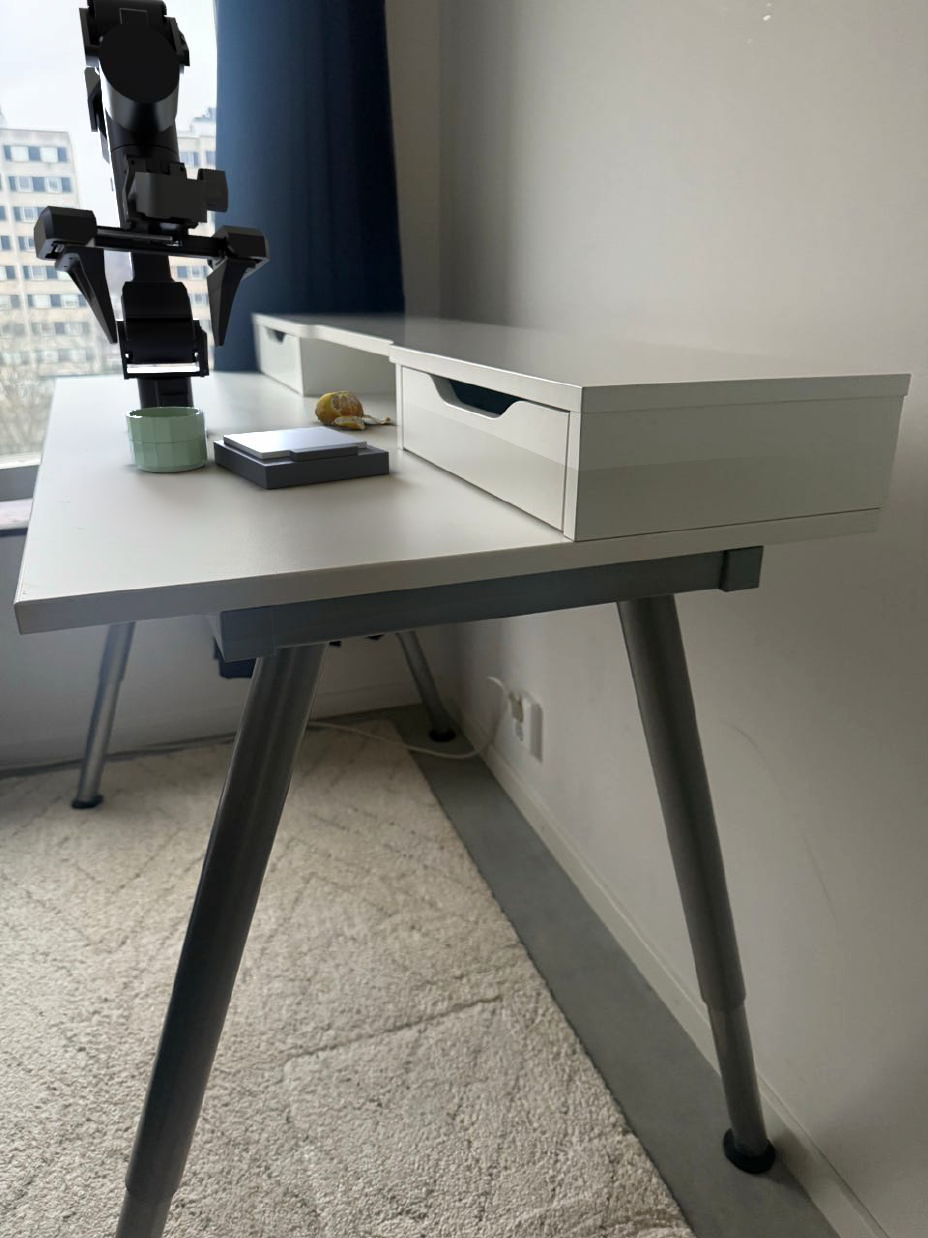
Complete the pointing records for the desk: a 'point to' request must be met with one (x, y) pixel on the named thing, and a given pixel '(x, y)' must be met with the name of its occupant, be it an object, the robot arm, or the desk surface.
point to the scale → (299, 456)
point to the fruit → (343, 410)
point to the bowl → (167, 438)
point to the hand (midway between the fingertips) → (168, 345)
